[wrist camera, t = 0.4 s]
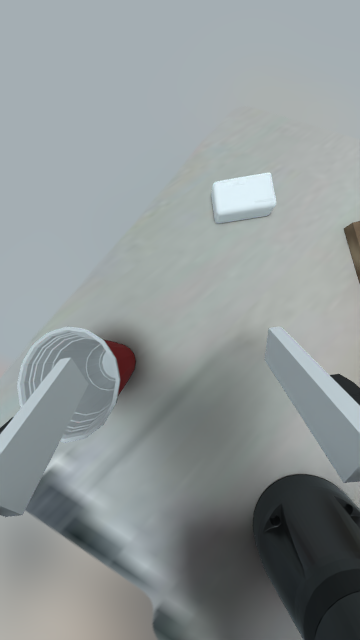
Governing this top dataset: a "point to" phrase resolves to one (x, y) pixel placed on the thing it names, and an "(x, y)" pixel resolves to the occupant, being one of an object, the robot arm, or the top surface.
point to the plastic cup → (95, 365)
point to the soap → (243, 198)
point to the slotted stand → (354, 244)
